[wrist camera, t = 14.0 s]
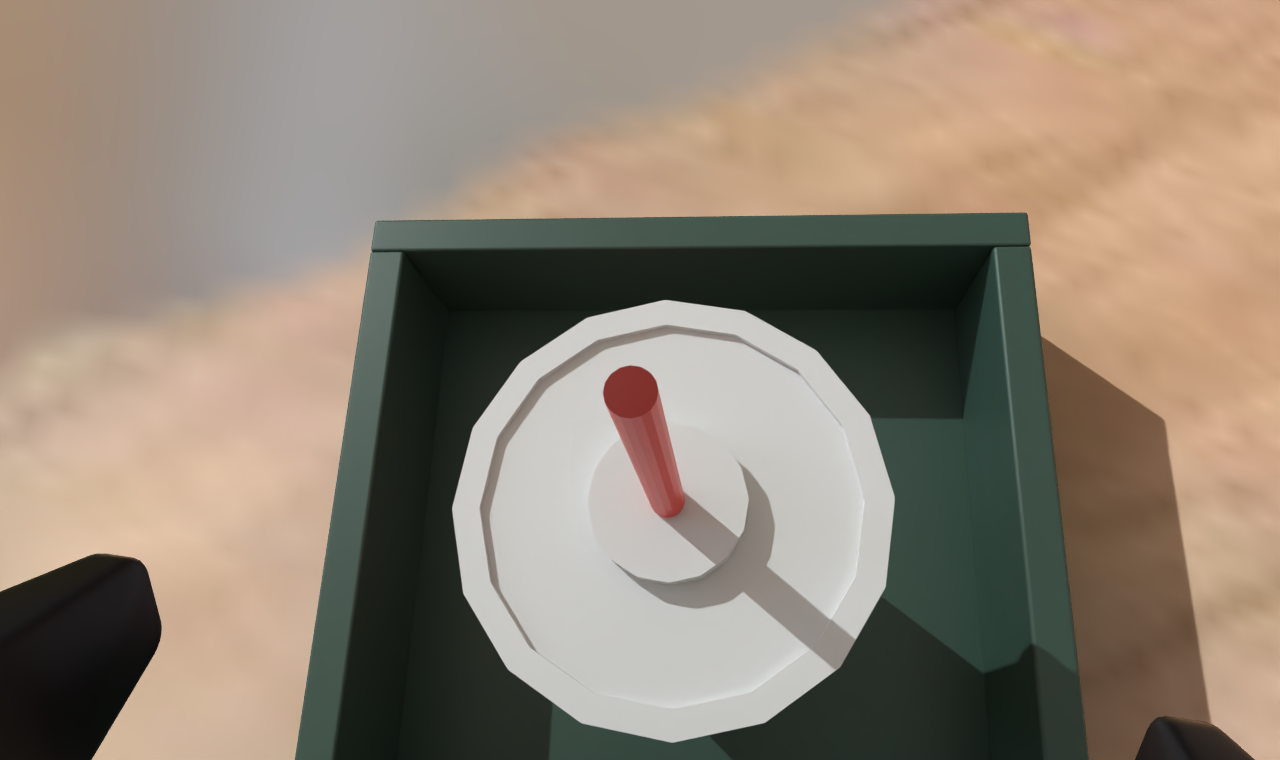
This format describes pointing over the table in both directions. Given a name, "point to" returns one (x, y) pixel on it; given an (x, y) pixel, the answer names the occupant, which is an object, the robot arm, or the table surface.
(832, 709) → the green square tray
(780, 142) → the table surface
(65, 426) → the table surface
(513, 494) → the beverage cup
